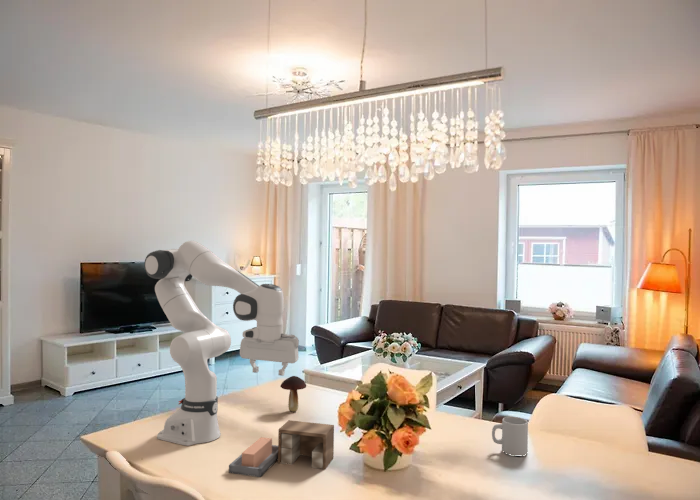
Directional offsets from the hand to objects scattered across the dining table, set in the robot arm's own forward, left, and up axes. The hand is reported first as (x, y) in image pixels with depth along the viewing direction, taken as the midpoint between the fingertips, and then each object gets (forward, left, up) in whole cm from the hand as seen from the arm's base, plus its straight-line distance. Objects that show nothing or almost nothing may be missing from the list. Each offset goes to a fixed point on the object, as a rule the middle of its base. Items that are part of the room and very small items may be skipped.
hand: (268, 373), depth 172 cm
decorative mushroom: (-8, +45, -27) cm, 53 cm away
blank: (0, -7, -27) cm, 28 cm away
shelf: (+14, -1, -27) cm, 31 cm away
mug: (+79, +26, -27) cm, 88 cm away
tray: (0, -7, -27) cm, 28 cm away
